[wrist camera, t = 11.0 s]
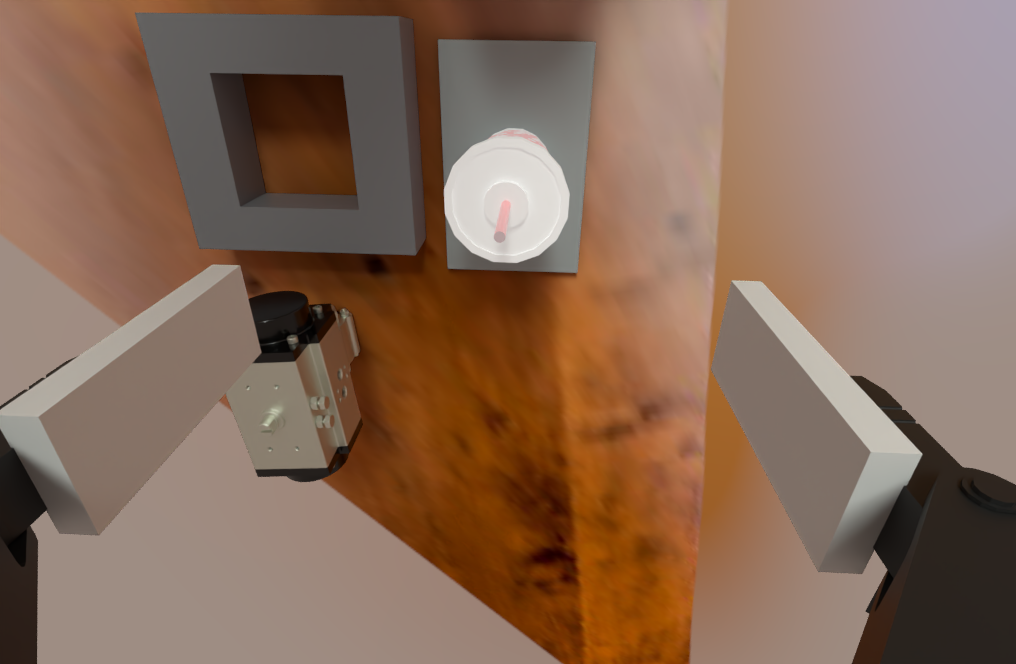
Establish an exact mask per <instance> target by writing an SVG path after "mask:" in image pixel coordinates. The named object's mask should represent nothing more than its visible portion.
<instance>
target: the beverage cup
mask: <svg viewBox="0 0 1016 664" xmlns="http://www.w3.org/2000/svg"><path fill="white" fill-rule="evenodd" d="M569 196H570V193H569V190H568V187H567V184H566V180H565V177H564V174H563V171H562V168H561V166H560V165H559V164H558V163H557V162H556V161H555V160H554V158H553V157H552V156H551V155H550V154H549V153H548V151H547V149H546V146H545V145H544V144H543V143H542V142H541V141H540V139H539V138H538V137H537V136H536V135H534V134H532V133H530V132H528V131H526V130H524V129H515V128H507V129H505V130H502V131H500V132H497V133H495V134H493V135H492V136H491V137H490V138H489V139H487V140H485V141H482V142H480V143H477V144H475V145H473V146H471V147H470V148H469V149H468V151H467V152H466V153H465V154H464V155H463V156H462V157H461V158H460V159H459V160H458V161H457V162H456V163H455V164H454V165H453V167H452V169H451V172H450V175H449V177H448V180H447V183H446V185H445V188H444V204H445V215H446V218H447V220H448V222H449V224H450V227H451V229H452V231H453V233H454V236H455V237H456V238H457V239H458V240H459V241H460V242H461V243H462V244H463V245H464V246H465V247H466V248H467V249H469V250H470V251H471V252H472V253H474V254H476V255H478V256H481V257H483V258H485V259H488V260H490V261H492V262H506V263H518V262H521V261H524V260H527V259H530V258H532V257H535V256H538V255H540V254H541V253H542V252H543V251H544V250H546V249H547V248H548V247H549V246H550V245H551V244H553V243H554V242H555V241H556V240H557V238H558V236H559V235H560V233H561V231H562V229H563V227H564V225H565V223H566V221H567V219H568V209H569Z"/></svg>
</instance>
